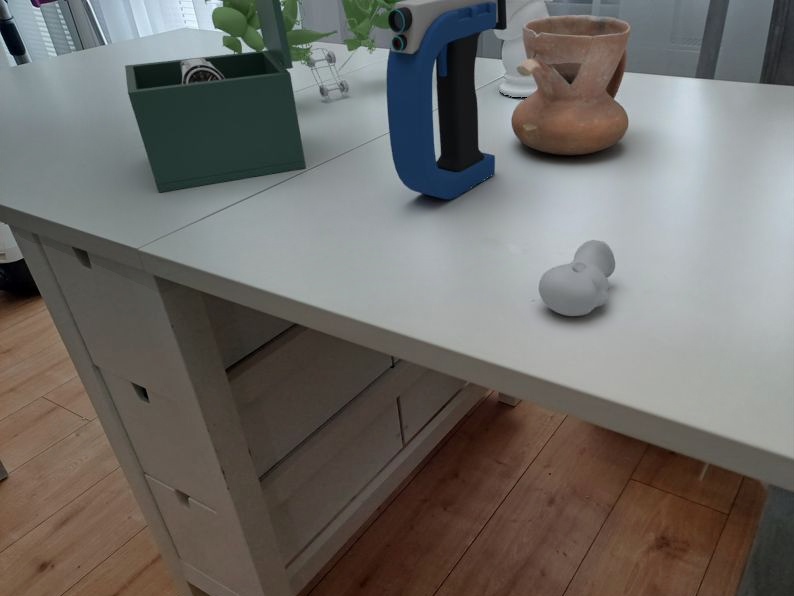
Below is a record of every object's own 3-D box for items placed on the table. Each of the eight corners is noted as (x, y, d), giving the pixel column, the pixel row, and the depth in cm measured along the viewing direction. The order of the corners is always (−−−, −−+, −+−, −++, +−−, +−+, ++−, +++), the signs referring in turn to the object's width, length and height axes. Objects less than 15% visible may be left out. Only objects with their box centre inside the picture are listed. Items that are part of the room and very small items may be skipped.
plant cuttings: (217, 154, 104) (248, 87, 85) (169, 52, 103) (189, -40, 84) (398, 109, 122) (456, 45, 103) (359, 21, 121) (411, -61, 102)
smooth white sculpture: (573, 341, 51) (522, 304, 53) (624, 297, 56) (576, 264, 58) (591, 302, 48) (537, 264, 50) (644, 259, 53) (593, 225, 55)
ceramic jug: (560, 178, 76) (570, 44, 67) (480, 146, 85) (479, 24, 77) (660, 143, 85) (679, 21, 76) (578, 117, 94) (587, 6, 85)
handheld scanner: (509, 168, 78) (510, -21, 67) (428, 217, 68) (412, 3, 56) (477, 161, 80) (472, -22, 69) (394, 208, 70) (371, 0, 58)
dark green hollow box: (158, 192, 74) (127, 92, 68) (152, 156, 84) (124, 65, 78) (306, 168, 80) (290, 73, 73) (284, 136, 90) (268, 50, 83)
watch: (203, 170, 77) (177, 70, 71) (186, 150, 83) (160, 57, 76) (250, 160, 80) (229, 63, 73) (230, 142, 85) (209, 50, 79)
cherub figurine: (568, 88, 106) (579, -73, 93) (538, 109, 97) (546, -66, 84) (500, 81, 111) (501, -74, 98) (465, 100, 102) (462, -68, 89)
